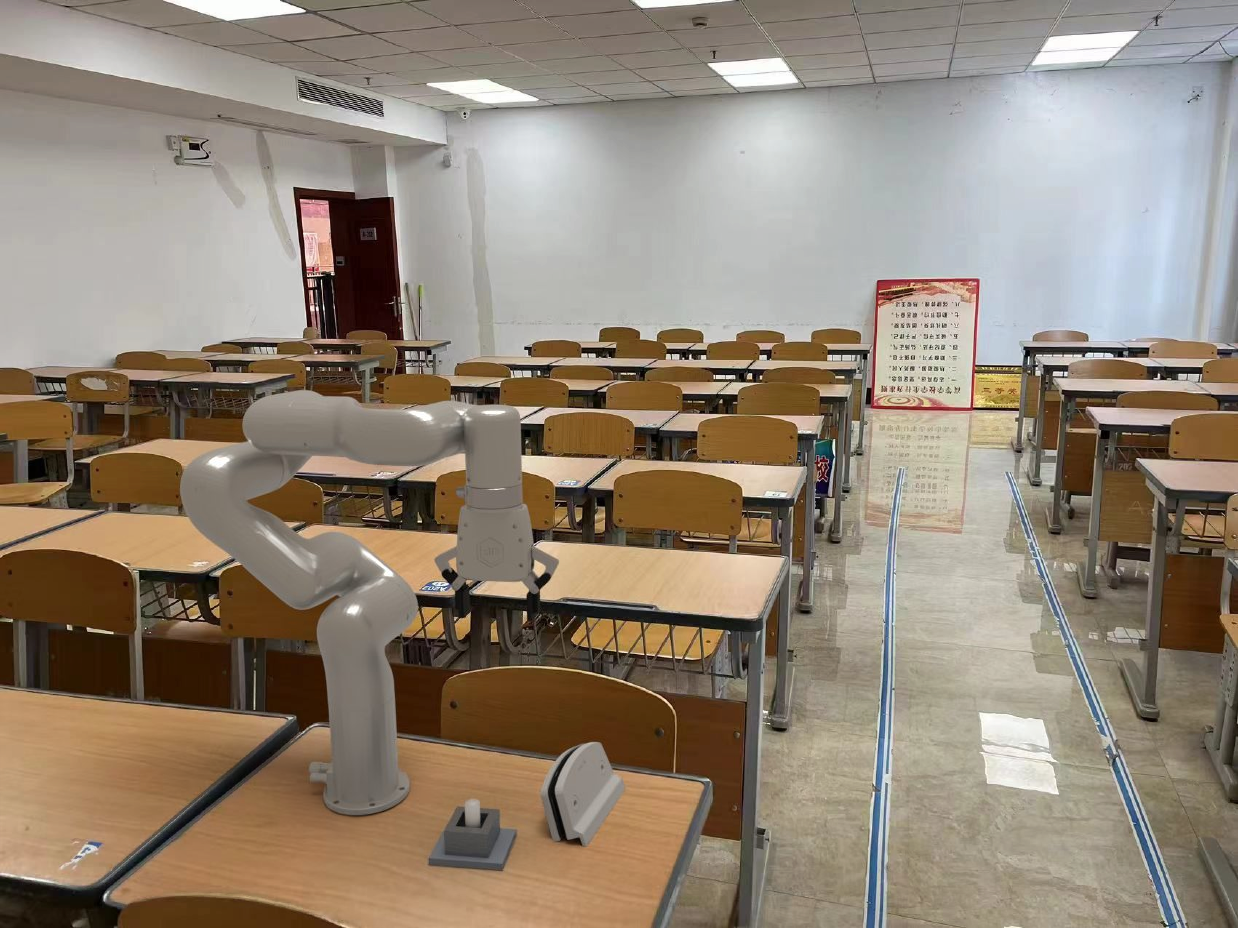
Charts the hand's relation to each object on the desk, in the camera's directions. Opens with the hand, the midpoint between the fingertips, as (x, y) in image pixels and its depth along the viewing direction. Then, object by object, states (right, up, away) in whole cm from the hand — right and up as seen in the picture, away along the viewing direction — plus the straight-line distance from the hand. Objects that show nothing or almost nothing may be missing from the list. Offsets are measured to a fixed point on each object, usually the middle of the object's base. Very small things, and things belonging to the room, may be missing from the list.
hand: (498, 616), depth 130 cm
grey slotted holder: (+11, -30, +7) cm, 33 cm away
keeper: (-3, -31, -3) cm, 32 cm away
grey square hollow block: (-3, -30, -3) cm, 31 cm away
